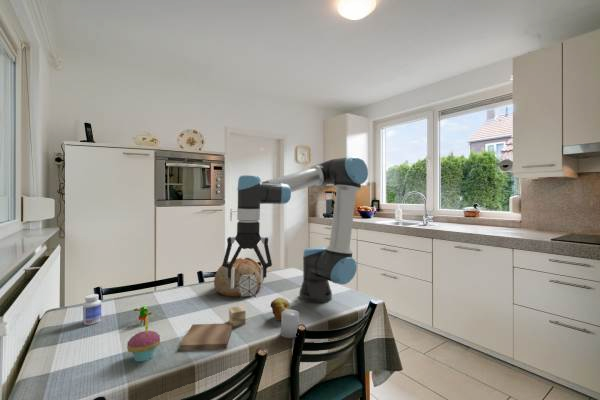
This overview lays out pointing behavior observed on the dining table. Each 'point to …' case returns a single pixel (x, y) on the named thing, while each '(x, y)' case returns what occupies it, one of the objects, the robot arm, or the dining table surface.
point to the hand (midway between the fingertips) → (247, 287)
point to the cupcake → (143, 344)
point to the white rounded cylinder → (289, 323)
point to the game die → (247, 285)
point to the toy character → (143, 314)
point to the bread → (236, 276)
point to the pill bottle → (92, 309)
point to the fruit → (279, 307)
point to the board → (207, 336)
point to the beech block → (237, 315)
